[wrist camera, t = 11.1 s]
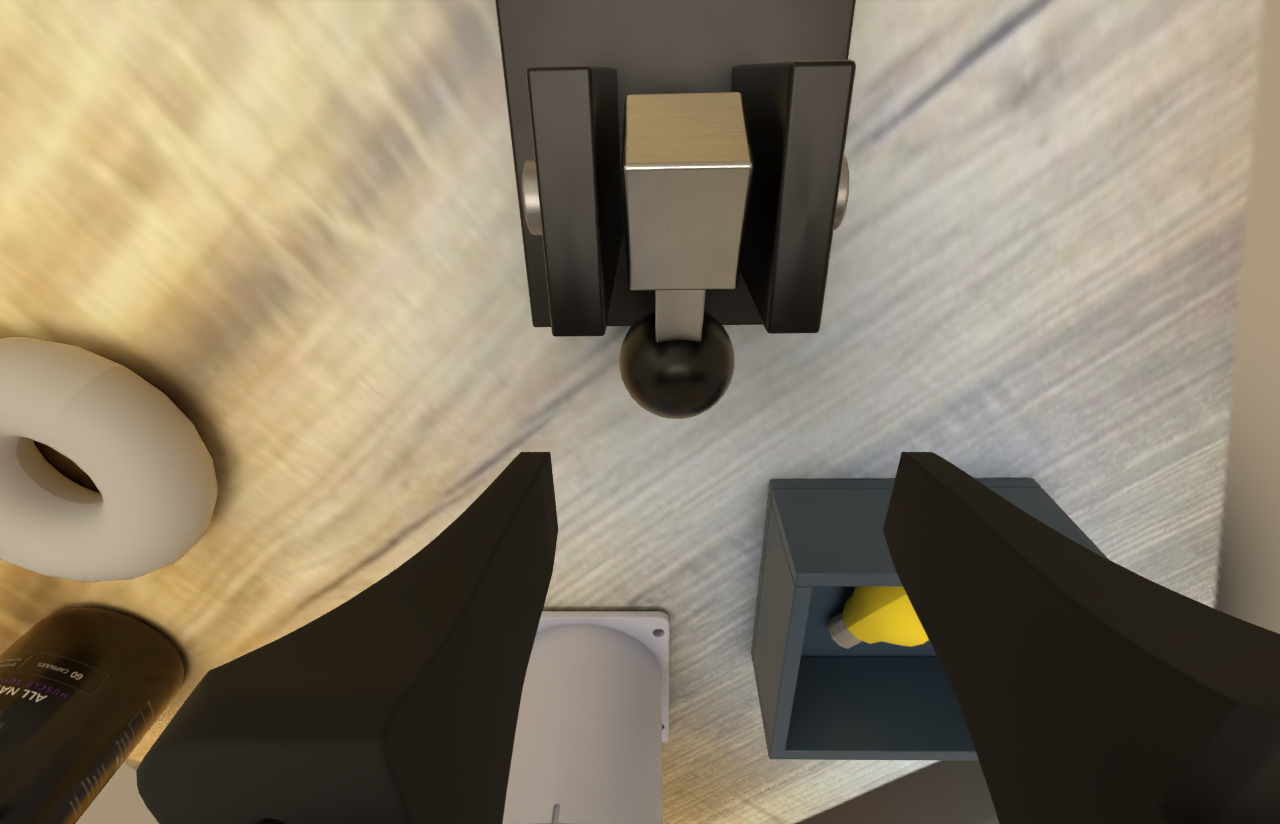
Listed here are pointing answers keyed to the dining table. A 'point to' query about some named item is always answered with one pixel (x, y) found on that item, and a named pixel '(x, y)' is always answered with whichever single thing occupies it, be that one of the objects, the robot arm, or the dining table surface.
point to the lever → (682, 242)
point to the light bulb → (877, 618)
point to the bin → (865, 673)
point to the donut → (95, 467)
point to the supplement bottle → (77, 709)
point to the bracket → (669, 64)
